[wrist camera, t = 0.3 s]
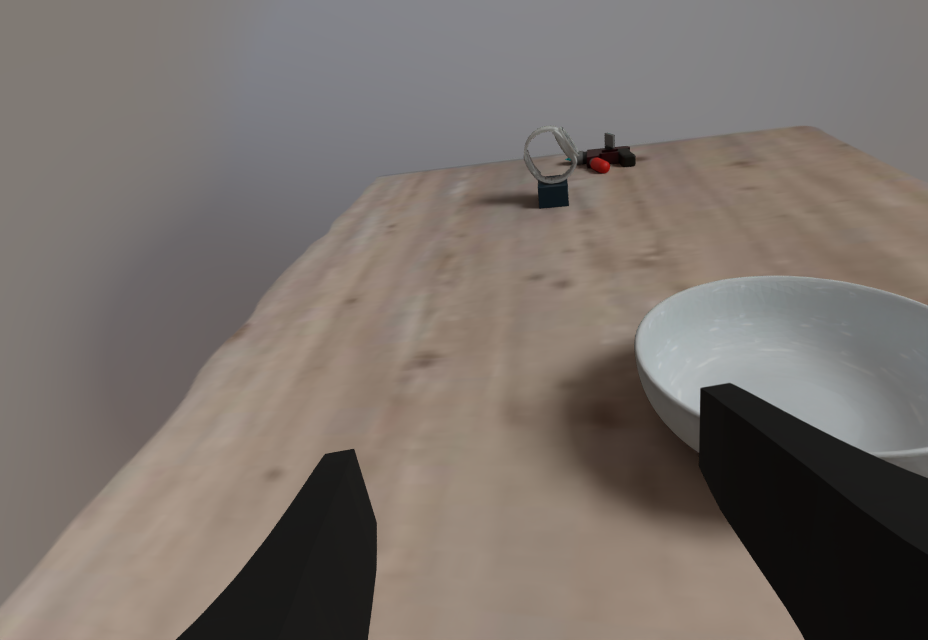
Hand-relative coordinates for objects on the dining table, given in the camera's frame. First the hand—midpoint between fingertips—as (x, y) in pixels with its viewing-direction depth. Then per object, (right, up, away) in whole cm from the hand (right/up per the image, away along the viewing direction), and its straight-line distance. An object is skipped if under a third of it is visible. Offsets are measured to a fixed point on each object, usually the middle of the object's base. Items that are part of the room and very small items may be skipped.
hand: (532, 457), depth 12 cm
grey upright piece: (+12, +21, +77) cm, 81 cm away
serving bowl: (+21, -5, +29) cm, 36 cm away
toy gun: (+22, +29, +90) cm, 97 cm away
